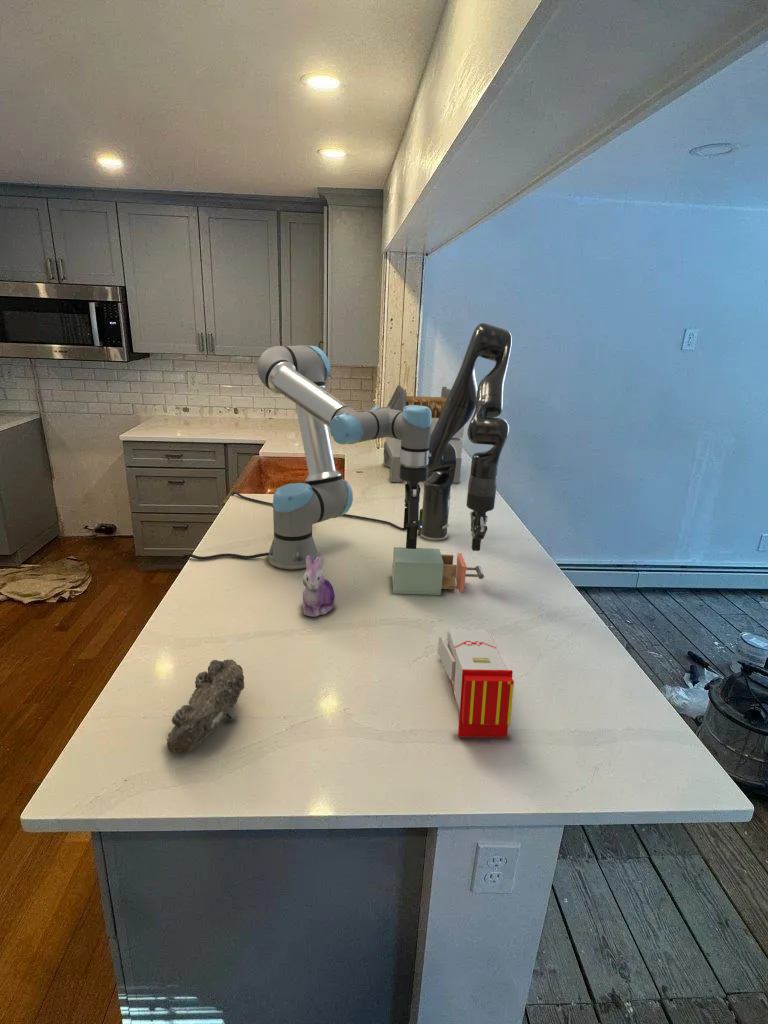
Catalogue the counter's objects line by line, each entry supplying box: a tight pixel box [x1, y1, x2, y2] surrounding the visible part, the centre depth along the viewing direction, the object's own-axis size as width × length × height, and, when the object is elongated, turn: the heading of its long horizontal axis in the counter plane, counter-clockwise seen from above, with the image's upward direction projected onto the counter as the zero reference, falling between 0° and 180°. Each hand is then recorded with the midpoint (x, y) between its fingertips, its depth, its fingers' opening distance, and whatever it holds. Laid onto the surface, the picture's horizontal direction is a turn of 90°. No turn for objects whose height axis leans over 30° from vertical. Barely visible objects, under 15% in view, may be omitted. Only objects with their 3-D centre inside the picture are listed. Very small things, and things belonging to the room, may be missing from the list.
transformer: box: [383, 384, 465, 484], centre depth 268 cm, size 34×33×41 cm
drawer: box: [441, 552, 485, 593], centre depth 162 cm, size 18×9×8 cm, turn 91°
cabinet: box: [391, 546, 444, 596], centre depth 161 cm, size 13×10×10 cm
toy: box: [437, 628, 515, 738], centre depth 117 cm, size 12×13×30 cm
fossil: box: [166, 658, 245, 754], centre depth 106 cm, size 22×10×15 cm
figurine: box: [302, 554, 336, 617], centre depth 145 cm, size 9×10×15 cm
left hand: (409, 538), depth 158 cm, fingers open, 13 cm apart
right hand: (475, 549), depth 159 cm, fingers closed
